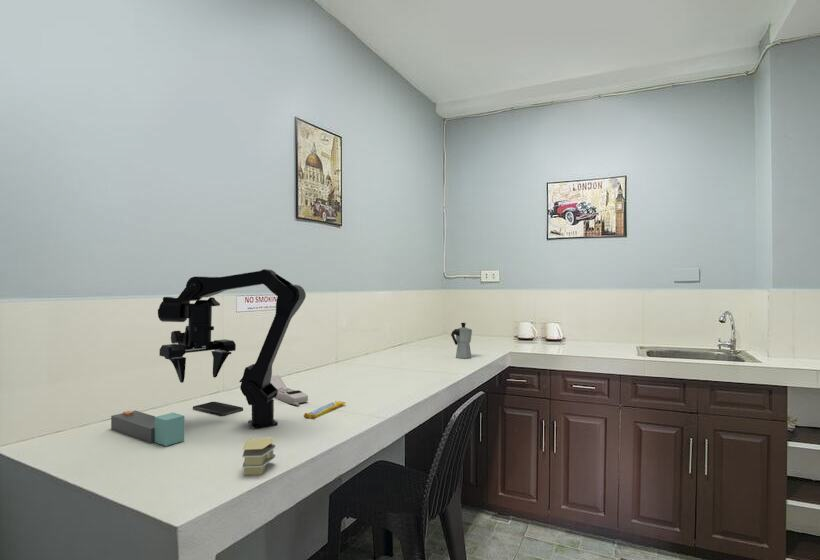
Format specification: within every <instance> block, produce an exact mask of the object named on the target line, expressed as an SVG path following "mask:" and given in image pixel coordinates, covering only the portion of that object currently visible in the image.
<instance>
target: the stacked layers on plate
mask: <svg viewBox="0 0 820 560" xmlns="http://www.w3.org/2000/svg"><path fill="white" fill-rule="evenodd" d="M275 441H276V438H273V437H261V438H253V439H249V440H245V442H244V444H243V447H242V450H244V451H243V454H242V456H241V457H242V458H244V461H243V463H242V466H241V467H242V468H243V469H244V476H254V475H255V476H257V475H259V476H261V475H262V474H263V473H264V471H265V469H266V466H267V465H268V464H269V463H270V462H271V461H273V460H274V459H275V458H276V454H274V449H275V448H276V444H274V442H275Z"/></svg>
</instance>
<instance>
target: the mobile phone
mask: <svg viewBox="0 0 820 560" xmlns="http://www.w3.org/2000/svg"><path fill="white" fill-rule="evenodd" d="M270 383H271V384H272V385H273V386H274V387H275V388H276V389H277V390H278V393H277V396H276V397H275V398H274V399H278V400H279V401H281V402H284V403H287V404H289V405H294V406H296V407H299V406H300V404H301V403H305V402H306V403H307V402H308V401H309V395H308V394H307V393H305V392H303V391H301V390H295V389H292V388H290V387H287V386H286V384H285V382H284V380H283V379H282V377H281V376H280V375H279V374H277V375H276V374H275V375H272V376H271V381H270Z"/></svg>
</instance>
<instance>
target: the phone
mask: <svg viewBox="0 0 820 560" xmlns="http://www.w3.org/2000/svg"><path fill="white" fill-rule="evenodd" d="M192 410H193V411H197V412H200V413H204V414H210V415H214V416H217V417H226V416H230V415H233V414H236V413H240V412H243V411H244V407H242V406H238V405H233V404H229V403H224V402H219V401H210V402H206V403H201V404H197V405H194V406H192Z"/></svg>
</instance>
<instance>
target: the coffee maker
mask: <svg viewBox="0 0 820 560" xmlns="http://www.w3.org/2000/svg"><path fill="white" fill-rule="evenodd" d="M460 324H461V327H459V328H455V329H453V330H452V332H451V334H450V336H451V338H452V340H453V343H454V344H455V346H457V347H456V353H455V359H459V360H468V359H472V352H471V351H472V350H471V345H470V343H471V341H472V334H473V329H472V328H468V327H466V324H467V323H466V322H461V323H460Z"/></svg>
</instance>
